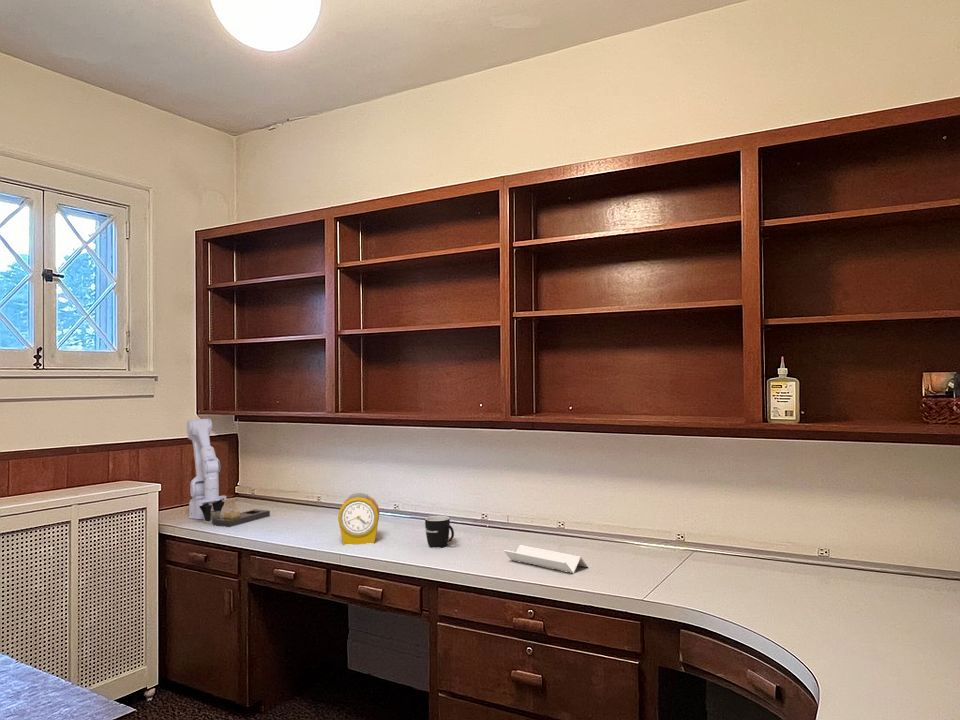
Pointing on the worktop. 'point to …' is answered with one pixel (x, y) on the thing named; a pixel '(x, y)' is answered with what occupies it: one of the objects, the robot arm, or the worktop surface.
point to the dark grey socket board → (242, 518)
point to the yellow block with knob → (231, 515)
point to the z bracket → (546, 558)
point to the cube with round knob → (212, 516)
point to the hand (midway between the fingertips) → (212, 519)
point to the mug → (438, 531)
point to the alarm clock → (358, 519)
